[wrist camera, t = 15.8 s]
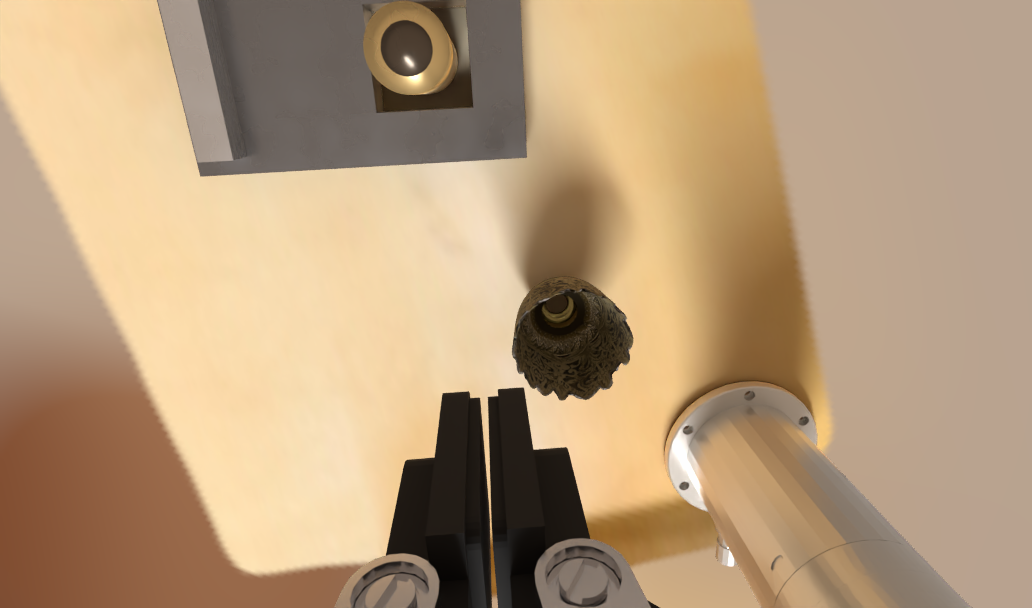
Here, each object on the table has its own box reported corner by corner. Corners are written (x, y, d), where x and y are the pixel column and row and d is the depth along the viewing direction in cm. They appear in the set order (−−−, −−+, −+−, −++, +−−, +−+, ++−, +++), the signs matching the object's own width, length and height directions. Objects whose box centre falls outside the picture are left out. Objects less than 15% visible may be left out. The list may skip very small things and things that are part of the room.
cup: (544, 235, 40) (559, 268, 32) (625, 288, 42) (657, 330, 34) (487, 317, 42) (489, 366, 34) (567, 364, 44) (585, 420, 36)
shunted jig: (523, 152, 38) (529, 161, 33) (221, 169, 37) (184, 181, 32) (510, -135, 32) (516, -174, 27) (153, -122, 31) (96, -159, 27)
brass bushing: (460, 92, 36) (453, 92, 27) (398, 95, 36) (369, 96, 27) (454, 23, 35) (445, -2, 25) (390, 26, 35) (356, 2, 25)
